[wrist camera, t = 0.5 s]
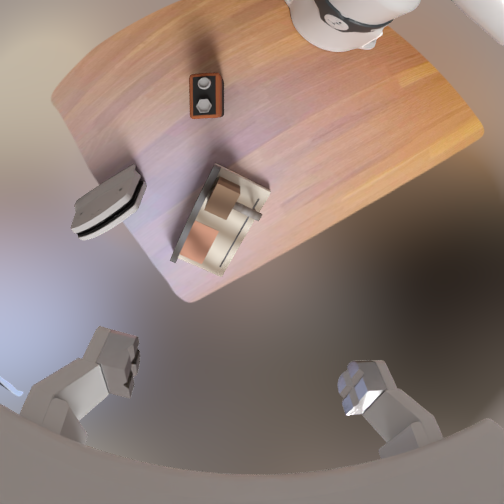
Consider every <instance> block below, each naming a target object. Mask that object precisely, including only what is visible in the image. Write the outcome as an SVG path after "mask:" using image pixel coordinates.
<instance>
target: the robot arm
mask: <svg viewBox="0 0 504 504" xmlns="http://www.w3.org/2000/svg"><path fill="white" fill-rule="evenodd" d="M451 1H452V2H453V3H454V4H456V6H457V7H458V8H459V9H461V11H462V12H463V13H464V14H465V15H467V16H468V17H469V18H470V19H472V20H473V21H474V22H475V23H476V24H477V25H478V26H480V27H481V28H482V29H483V30H484V31H485V32H487V33H488V34H489V35H490V36H491V37H492V38H493V39H494V40H495V41H496V42H498V43H499V44H501V45H503V46H504V0H451ZM285 2H286V3H287V5H288V6H289V8H290V13H291V19H292V22H293V24H294V26H295V28H296V29H297V31H298V32H299V33H300V34H301V36H302V37H304V38H305V39H306V40H307V41H308V42H310V43H311V44H313V45H315V46H317V47H319V48H321V49H324V50H328V51H334V52H344V51H349V50H352V49H357V48H359V49H365V50H370V49H372V48H374V46H375V43H376V40H377V38H378V37H380V36H381V35H382V34H383V32H382V31H383V28H384V27H385V26H387V25H388V24H389V23H390V22H391V21H393V19H394V18H396V17H399V16H401V15H403V14H406V13H408V12H410V11H413V10H414V9H415V8H416V7H417V6H418V5H419V3H420V2H421V0H285ZM138 345H139V338H138V337H137V336H134V335H130V334H126V333H122V332H119V331H115V330H111V329H108V328H104V327H101V326H99V327H98V328H97V329H96V331H95V333H94V335H93V337H92V339H91V341H90V343H89V345H88V348H87V349H86V352H85V354H84V356H83V358H82V359H80V358H77V359H76V360H74V361H73V362H71V363H69V364H68V365H66V366H64V367H63V368H61V369H59V370H58V371H56V372H55V373H53V374H51V375H49V376H48V377H46V378H44V379H43V380H41V381H40V382H38V383H36V384H35V385H33V386H32V388H31V390H30V392H29V394H28V396H27V399H26V401H25V403H24V405H23V407H22V410H21V412H20V414H17V413H15V412H14V411H12V410H10V409H9V408H7V407H5V406H3V405H2V404H0V504H504V429H503V428H502V427H501V426H500V425H498V424H497V423H496V422H495V421H493V420H491V419H488V418H487V419H484V420H482V421H480V422H478V423H476V424H474V425H472V426H470V427H468V428H466V429H464V430H461V431H459V432H457V433H455V434H453V435H450V436H448V437H446V438H443V436H442V434H441V432H440V429H439V427H438V424H437V422H436V420H435V418H434V416H433V415H432V414H430V413H429V412H428V411H427V410H425V409H424V408H423V407H422V406H421V405H419V404H418V403H417V402H415V401H414V400H413V399H412V398H411V397H410V396H408V395H407V394H406V393H405V392H403V391H402V390H401V389H397V387H396V385H395V382H394V380H393V378H392V376H391V374H390V372H389V370H388V367H387V365H386V363H385V362H384V361H383V360H373V361H372V360H366V361H352V362H350V363H349V364H348V366H347V368H348V370H347V371H345V372H343V373H342V374H341V376H340V377H339V380H338V391H339V394H340V395H341V396H342V397H343V398H344V399H343V402H342V405H343V408H344V411H345V415H356V414H362V415H363V416H364V418H365V419H366V420H367V421H368V422H369V423H370V424H371V425H372V427H373V428H374V429H375V430H376V431H377V432H378V433H379V434H380V436H381V437H382V438H383V439H384V440H385V441H386V442H387V443H386V444H385V445H384V446H382V447H381V448H380V449H379V454H380V457H381V459H379V460H375V461H371V462H367V463H362V464H357V465H352V466H348V467H341V468H335V469H328V470H321V471H313V472H303V473H291V474H269V475H268V474H267V475H245V474H222V473H210V472H199V471H191V470H184V469H177V468H170V467H165V466H160V465H155V464H150V463H146V462H141V461H137V460H133V459H129V458H125V457H122V456H118V455H114V454H111V453H108V452H105V451H102V450H98V449H96V448H93V447H90V446H87V445H85V444H86V440H87V436H88V434H87V433H86V431H85V429H84V428H83V427H82V425H81V424H80V422H79V420H80V419H81V418H83V417H84V416H85V415H86V414H87V413H88V412H89V411H91V410H92V409H93V408H94V407H95V406H96V405H97V404H99V403H100V402H101V401H102V400H103V399H104V398H105V397H107V396H108V395H109V393H111V394H114V395H118V396H123V397H126V398H131V395H132V391H133V388H134V378H133V377H134V376H136V375H137V373H138V369H139V364H140V351H139V350H138Z"/></svg>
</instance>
